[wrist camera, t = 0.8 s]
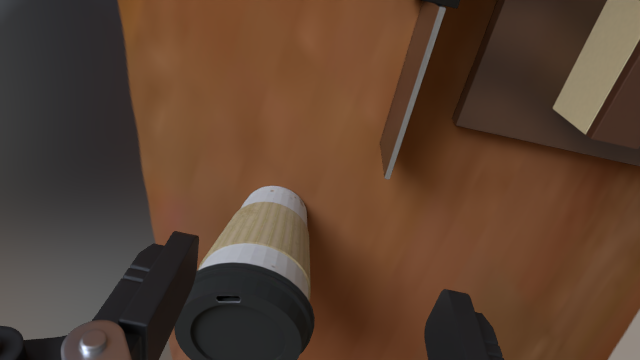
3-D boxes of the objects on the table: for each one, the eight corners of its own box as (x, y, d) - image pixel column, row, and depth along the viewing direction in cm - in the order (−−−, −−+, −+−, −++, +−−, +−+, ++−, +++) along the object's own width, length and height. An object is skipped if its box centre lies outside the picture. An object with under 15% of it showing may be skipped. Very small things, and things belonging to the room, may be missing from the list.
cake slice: (642, -70, 26) (714, -75, 21) (689, -58, 26) (774, -60, 21) (551, 108, 32) (590, 139, 27) (591, 117, 32) (637, 149, 27)
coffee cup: (234, 253, 43) (182, 385, 30) (217, 169, 38) (146, 283, 25) (328, 252, 42) (317, 388, 29) (322, 167, 38) (305, 282, 24)
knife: (455, -162, 26) (483, -194, 20) (492, -153, 26) (530, -182, 20) (368, 140, 36) (370, 175, 30) (395, 146, 36) (402, 182, 30)
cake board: (570, -190, 25) (582, -198, 23) (851, -119, 25) (878, -123, 24) (451, 119, 34) (455, 125, 33) (656, 164, 35) (668, 172, 34)
